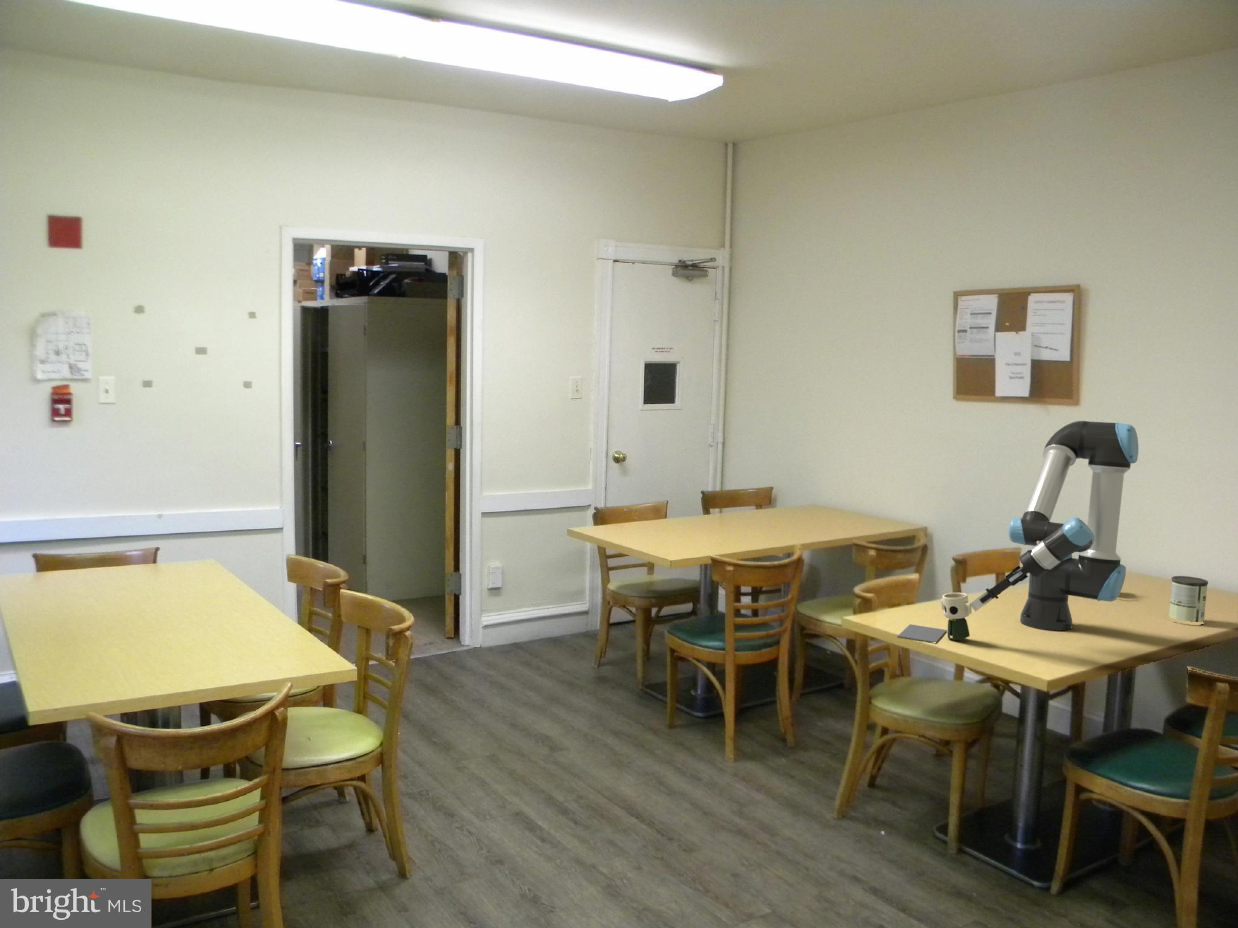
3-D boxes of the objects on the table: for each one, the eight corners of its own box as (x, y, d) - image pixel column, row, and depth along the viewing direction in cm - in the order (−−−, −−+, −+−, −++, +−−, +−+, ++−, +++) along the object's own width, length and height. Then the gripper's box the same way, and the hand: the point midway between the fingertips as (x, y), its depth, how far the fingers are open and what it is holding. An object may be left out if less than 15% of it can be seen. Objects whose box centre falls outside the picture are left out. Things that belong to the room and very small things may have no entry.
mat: (946, 631, 306) (946, 629, 306) (935, 643, 292) (935, 642, 292) (909, 625, 311) (910, 624, 311) (897, 637, 297) (897, 635, 297)
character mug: (936, 638, 299) (932, 595, 298) (952, 632, 303) (948, 590, 302) (965, 644, 290) (961, 599, 289) (982, 638, 293) (978, 594, 292)
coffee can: (1166, 615, 335) (1170, 574, 334) (1202, 620, 331) (1206, 578, 330) (1169, 622, 326) (1173, 580, 325) (1205, 627, 322) (1209, 584, 320)
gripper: (1035, 546, 289) (970, 593, 300) (1025, 551, 278) (958, 600, 289) (1052, 567, 287) (986, 614, 297) (1044, 573, 276) (975, 621, 287)
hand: (973, 607), depth 293 cm, fingers closed
